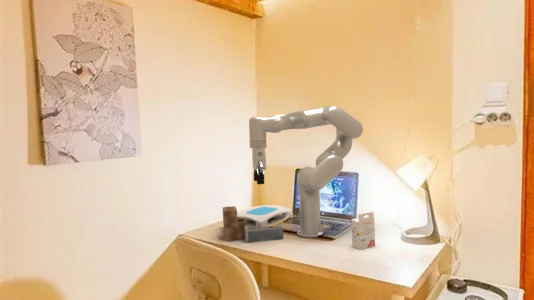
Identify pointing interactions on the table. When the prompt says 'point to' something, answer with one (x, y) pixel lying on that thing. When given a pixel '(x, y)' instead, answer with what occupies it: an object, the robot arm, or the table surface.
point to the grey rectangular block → (263, 234)
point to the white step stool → (264, 215)
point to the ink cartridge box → (363, 231)
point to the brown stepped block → (233, 225)
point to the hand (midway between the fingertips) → (258, 182)
